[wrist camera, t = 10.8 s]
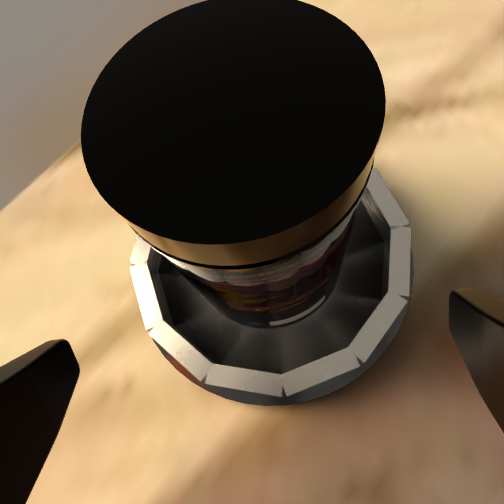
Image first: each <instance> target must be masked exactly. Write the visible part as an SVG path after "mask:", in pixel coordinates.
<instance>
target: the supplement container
mask: <svg viewBox="0 0 504 504" xmlns="http://www.w3.org/2000/svg"><path fill="white" fill-rule="evenodd" d="M385 103H386V99H385V89H384V84H383V79H382V75H381V72H380V70H379V67H378V64H377V62H376V60H375V58H374V56H373V55H372V53H371V51H370V50H369V48H368V47H367V45H366V44H365V43H364V41H363V40H362V39H361V38H360V37H359V36H358V35H357V34H356V32H354V31H353V30H352V29H351V28H350V27H349V26H348V25H346V24H345V23H344V22H342V21H341V20H339V19H338V18H337V17H335V16H333V15H332V14H330V13H328V12H326V11H324V10H322V9H320V8H318V7H315V6H313V5H310V4H307V3H304V2H301V1H298V0H207V1H204V2H200V3H197V4H193V5H190V6H188V7H185V8H183V9H180V10H177V11H175V12H173V13H171V14H169V15H167V16H165V17H163V18H161V19H159V20H158V21H156V22H154V23H152V24H151V25H149V26H148V27H146V28H145V29H143V30H142V31H141V32H139V33H138V34H137V35H135V36H134V37H133V38H132V39H130V40H129V41H128V42H127V43H126V44H125V45H124V46H123V47H122V48H121V49H120V50H119V51H118V52H117V53H116V54H115V55H114V56H113V57H112V59H111V60H110V61H109V62H108V64H107V65H106V66H105V68H104V69H103V71H102V72H101V73H100V75H99V77H98V79H97V80H96V82H95V84H94V86H93V88H92V90H91V92H90V95H89V97H88V100H87V103H86V106H85V109H84V115H83V119H82V128H81V146H82V153H83V158H84V162H85V165H86V168H87V172H88V174H89V176H90V178H91V180H92V182H93V184H94V186H95V187H96V189H97V190H98V192H99V193H100V195H101V196H102V197H103V198H104V200H105V201H106V202H107V203H108V204H109V205H110V206H111V207H112V208H113V209H114V210H115V211H116V212H117V213H118V214H119V215H120V216H121V217H122V218H123V219H124V220H125V221H126V222H127V223H128V224H129V226H130V227H131V228H132V229H133V230H134V231H135V233H136V234H137V235H138V236H139V237H140V238H141V239H143V240H144V241H145V242H146V243H147V244H148V245H149V246H151V247H152V248H153V249H155V250H156V251H157V252H159V253H160V254H161V255H162V256H163V257H164V258H165V259H166V260H167V261H168V262H169V263H170V264H171V265H172V266H173V267H174V268H175V269H176V270H177V271H178V272H179V273H180V274H181V275H182V276H183V277H184V278H185V279H186V280H187V281H188V282H189V283H190V284H191V285H192V286H193V287H194V288H195V289H196V290H197V291H198V292H199V293H200V294H201V295H202V296H203V297H204V298H205V299H206V300H207V301H208V302H209V303H210V304H211V305H212V306H213V307H214V308H216V309H217V310H218V311H219V312H220V313H221V314H223V315H224V316H225V317H227V318H229V319H230V320H232V321H234V322H236V323H239V324H241V325H244V326H248V327H252V328H260V329H274V328H281V327H286V326H289V325H292V324H295V323H297V322H300V321H302V320H303V319H305V318H307V317H309V316H310V315H311V314H313V313H314V312H316V311H317V310H318V309H319V308H320V307H321V306H322V305H323V304H324V303H325V302H326V300H327V299H328V298H329V296H330V295H331V293H332V292H333V290H334V288H335V286H336V283H337V281H338V278H339V275H340V271H341V268H342V264H343V261H344V257H345V254H346V250H347V247H348V243H349V239H350V236H351V232H352V229H353V225H354V222H355V218H356V215H357V211H358V208H359V204H360V200H361V198H362V196H363V194H364V191H365V189H366V187H367V185H368V181H369V178H370V175H371V172H372V168H373V163H374V157H375V153H376V149H377V146H378V142H379V139H380V135H381V132H382V129H383V123H384V117H385Z"/></svg>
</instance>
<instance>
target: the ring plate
mask: <svg viewBox="0 0 504 504" xmlns="http://www.w3.org/2000/svg"><path fill="white" fill-rule="evenodd" d="M408 225H409V221H408V220H407V218H406V216H405V215H404V213H403V211H402V210H401V208H400V206H399V205H398V203H397V202H396V200H395V198H394V197H393V195H392V193H391V192H390V190H389V188H388V187H387V185H386V184H385V182H384V180H383V179H382V177H381V175H380V174H379V172H378V170H377V169H376V168H375V169H373V170H372V172H371V175H370V178H369V181H368V185H367V187H366V189H365V191H364V194H363V196H362V198H361V200H360V204H359V208H358V211H357V215H356V218H355V222H354V225H353V229H352V232H351V236H350V239H349V243H348V247H347V250H346V254H345V257H344V261H343V264H342V268H341V271H340V275H339V278H338V281H337V283H336V286H335V288H334V290H333V292H332V293H331V295H330V296H329V298H328V299H327V300H326V302H325V303H324V304H323V305H322V306H321V307H320V308H319V309H318V310H317V311H316V312H314V313H313V314H311V315H310V316H309V317H307V318H305V319H303V320H302V321H300V322H297V323H295V324H292V325H289V326H286V327H281V328H274V329H260V328H252V327H248V326H244V325H241V324H239V323H236V322H234V321H232V320H230V319H229V318H227V317H225V316H224V315H223V314H221V313H220V312H219V311H218V310H217V309H216V308H214V307H213V306H212V305H211V304H210V303H209V302H208V301H207V300H206V299H205V298H204V297H203V296H202V295H201V294H200V293H199V292H198V291H197V290H196V289H195V288H194V287H193V286H192V285H191V284H190V283H189V282H188V281H187V280H186V279H185V278H184V277H183V276H182V275H181V274H180V273H179V272H178V271H177V270H176V269H175V268H174V267H173V266H172V265H171V264H170V263H169V262H168V261H167V260H166V259H165V258H164V257H163V256H162V255H161V254H160V253H159V252H157V251H156V250H155V249H153V248H152V247H151V246H149V245H148V244H147V243H146V242H145V241H144V240H143V239H141V238H140V237H139V236H138V235H137V238H136V241H135V245H134V248H133V252H132V255H131V259H130V262H129V263H130V264H131V265H133V266H131V267H129V268H130V272H131V276H132V280H133V283H134V287H135V291H136V295H137V298H138V302H139V306H140V310H141V314H142V317H143V321H144V325H145V329H146V330H147V331H149V335H150V336H151V337H152V339H153V341H154V342H155V344H156V345H157V347H158V348H159V349H160V351H161V352H162V354H163V355H164V356H165V358H166V359H167V360H168V361H169V362H170V363H171V364H172V365H173V366H174V367H175V368H176V369H177V370H178V371H179V372H180V373H182V374H183V375H184V376H185V377H187V378H188V379H189V380H190V381H192V382H193V383H195V384H197V385H199V386H200V387H202V388H204V389H205V390H207V391H209V392H211V393H214V394H216V395H219V396H221V397H224V398H226V399H230V400H234V401H238V402H242V403H246V404H255V405H264V406H273V405H290V404H295V403H301V402H306V401H310V400H313V399H316V398H319V397H322V396H325V395H328V394H330V393H332V392H334V391H336V390H338V389H340V388H342V387H344V386H346V385H347V384H349V383H350V382H352V381H353V380H354V379H356V378H357V377H359V376H360V375H362V374H363V373H364V372H365V371H366V370H367V369H368V368H369V367H371V366H372V365H373V364H374V363H375V362H376V361H377V360H378V359H379V358H380V356H381V355H382V354H383V353H384V351H385V350H386V349H387V348H388V346H389V345H390V344H391V342H392V340H393V339H394V337H395V335H396V334H397V332H398V330H399V328H400V326H401V324H402V321H403V319H404V316H405V314H406V312H407V309H408V304H409V300H410V296H411V292H412V282H413V257H412V251H411V246H410V245H411V227H408Z"/></svg>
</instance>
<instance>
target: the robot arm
mask: <svg viewBox="0 0 504 504" xmlns="http://www.w3.org/2000/svg"><path fill="white" fill-rule="evenodd" d="M449 328H450V332H451V334H452V336H453V339H454V341H455V343H456V345H457V347H458V349H459V351H460V353H461V356H462V358H463V360H464V362H465V364H466V366H467V368H468V370H469V373H470V375H471V377H472V379H473V381H474V383H475V385H476V387H477V389H478V391H479V393H480V395H481V397H482V398H483V400H484V402H485V404H486V405H487V407H488V408H489V410H490V412H491V413H492V415H493V416H494V418H495V420H496V421H497V423H498V425H499V426H500V428H501V429H502V431H503V433H504V299H502V298H499V297H496V296H493V295H490V294H487V293H484V292H481V291H479V290H476V289H473V288H465V289H458V290H453V291H451V293H450V296H449ZM79 373H80V368H79V364H78V362H77V359H76V357H75V355H74V353H73V350H72V348H71V346H70V344H69V342H68V341H67V340H65V339H59V340H51V341H48V342H45V343H44V344H42V345H40V346H38V347H36V348H34V349H33V350H31V351H29V352H27V353H25V354H23V355H22V356H20V357H18V358H16V359H14V360H12V361H10V362H9V363H7V364H5V365H3V366H1V367H0V504H26V502H27V500H28V498H29V495H30V493H31V491H32V489H33V487H34V485H35V483H36V480H37V478H38V476H39V474H40V472H41V470H42V468H43V466H44V463H45V461H46V459H47V457H48V455H49V453H50V451H51V448H52V446H53V444H54V442H55V440H56V437H57V435H58V433H59V430H60V428H61V425H62V422H63V420H64V417H65V414H66V411H67V408H68V406H69V403H70V400H71V397H72V394H73V392H74V389H75V386H76V383H77V380H78V378H79Z"/></svg>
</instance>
